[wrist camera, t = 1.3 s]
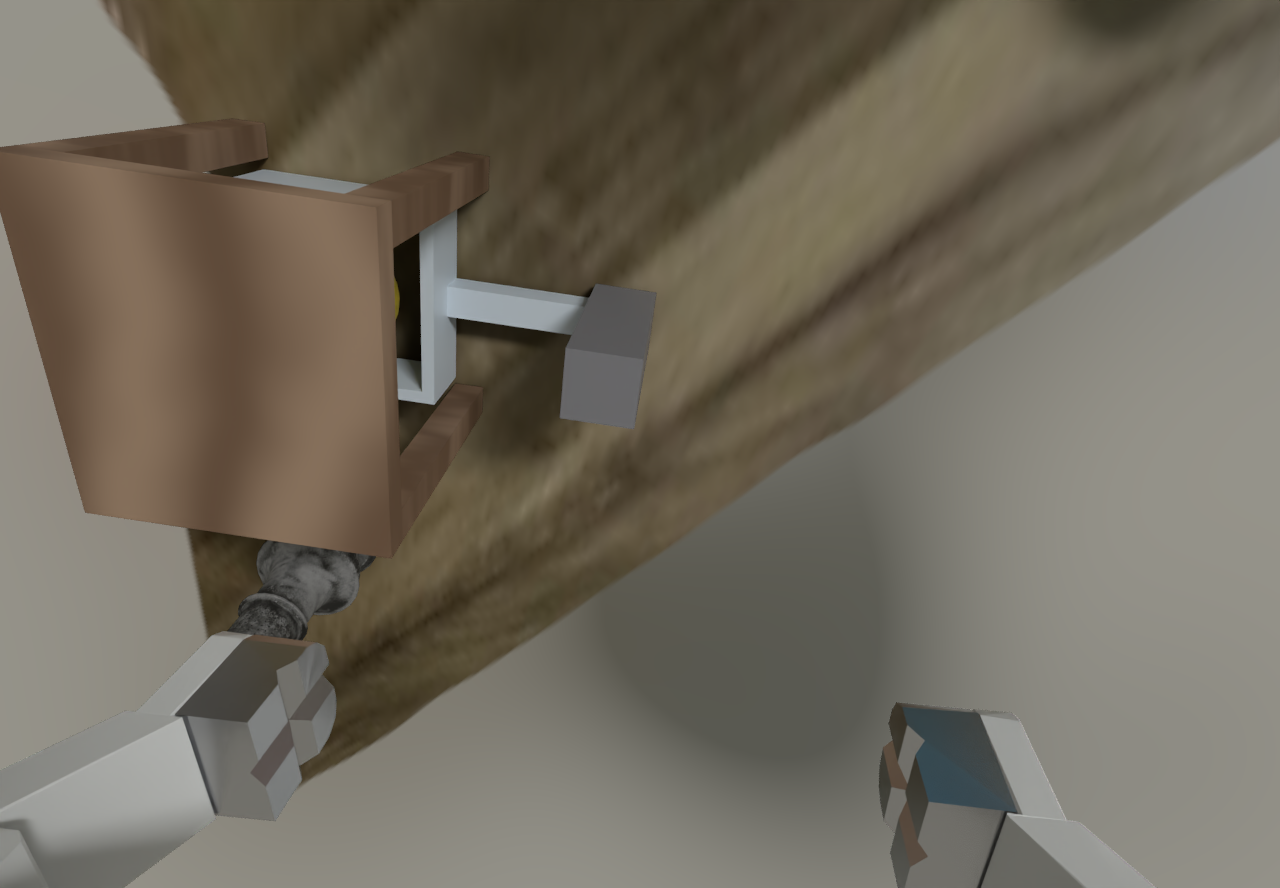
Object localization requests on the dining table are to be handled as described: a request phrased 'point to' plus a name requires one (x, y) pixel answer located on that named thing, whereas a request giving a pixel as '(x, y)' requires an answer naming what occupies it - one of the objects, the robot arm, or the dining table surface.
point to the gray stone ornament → (298, 588)
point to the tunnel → (230, 333)
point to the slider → (519, 324)
